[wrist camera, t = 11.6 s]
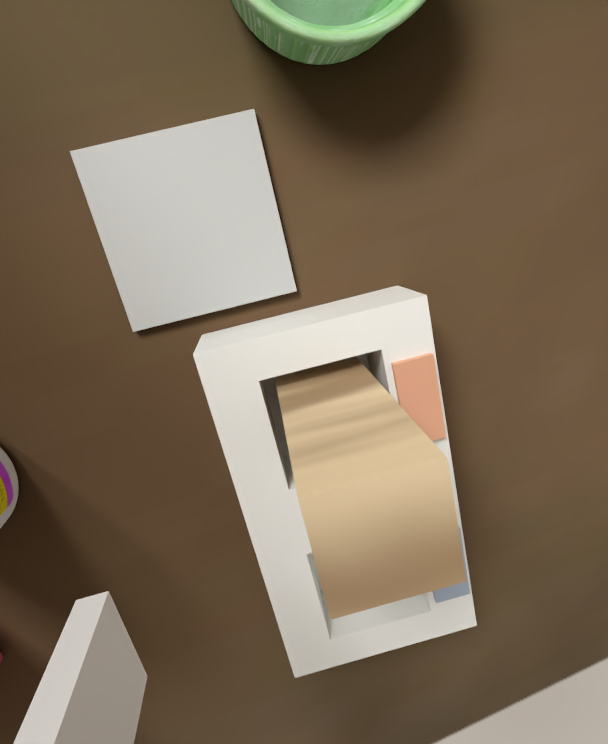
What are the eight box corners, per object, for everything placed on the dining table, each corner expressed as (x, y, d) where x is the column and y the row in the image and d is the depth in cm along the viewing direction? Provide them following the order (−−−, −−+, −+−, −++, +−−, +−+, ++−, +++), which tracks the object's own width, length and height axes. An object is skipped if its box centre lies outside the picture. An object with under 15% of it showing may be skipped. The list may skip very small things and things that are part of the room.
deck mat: (73, 152, 20) (69, 151, 20) (253, 111, 21) (253, 108, 20) (134, 330, 23) (132, 331, 22) (296, 290, 23) (296, 291, 23)
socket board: (201, 334, 23) (192, 356, 19) (401, 284, 23) (434, 294, 19) (288, 618, 28) (295, 683, 24) (449, 573, 29) (483, 629, 25)
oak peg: (273, 369, 23) (297, 498, 12) (350, 350, 24) (447, 458, 12) (291, 440, 25) (330, 619, 13) (365, 421, 25) (466, 581, 13)
